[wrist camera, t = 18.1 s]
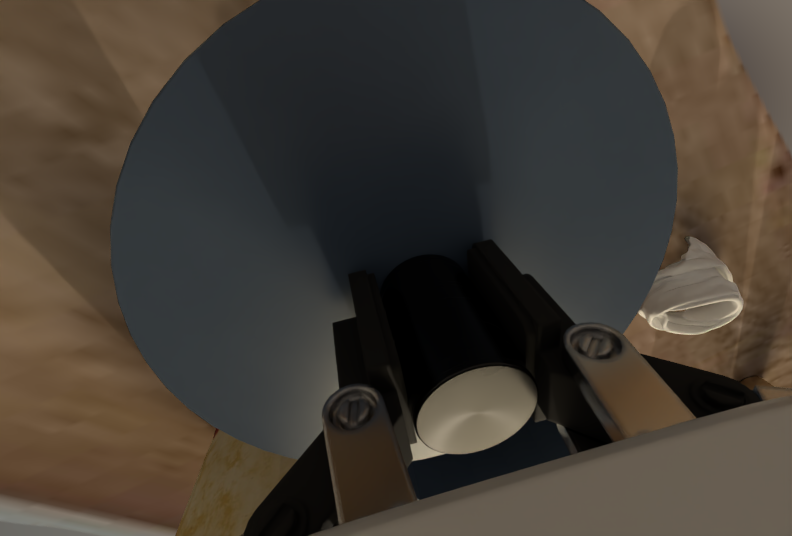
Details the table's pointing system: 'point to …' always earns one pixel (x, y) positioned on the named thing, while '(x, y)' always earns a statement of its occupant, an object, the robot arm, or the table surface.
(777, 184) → the table surface
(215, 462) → the food model
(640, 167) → the pot lid
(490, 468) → the pot
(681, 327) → the whipped cream
